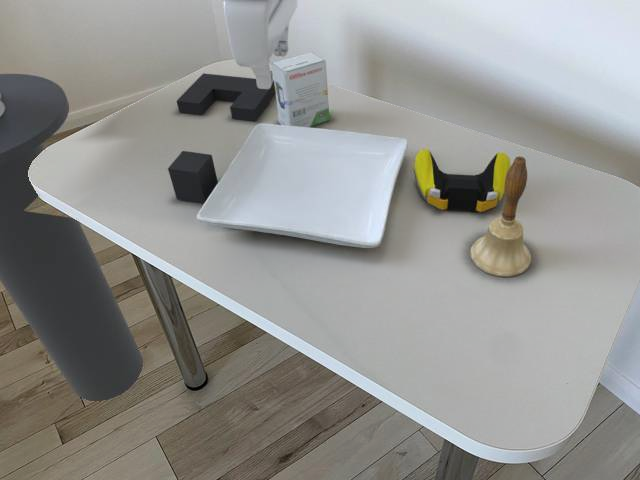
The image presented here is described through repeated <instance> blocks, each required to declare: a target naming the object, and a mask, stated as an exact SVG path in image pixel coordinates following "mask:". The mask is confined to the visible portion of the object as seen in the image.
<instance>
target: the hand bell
mask: <svg viewBox="0 0 640 480" xmlns="http://www.w3.org/2000/svg"><path fill="white" fill-rule="evenodd" d="M526 161H527V160H526V158H525V157H523V156H516V157H515V158H514V160H513V162H512V163H511V167H510V168H509V170H508V172H507V175H506V179H505V185H504V191H505V193H504V196H505V200H504V201H505V202H504V205H503V208H502V214H501V216H500V217H496V218H494V219H493V220H492V221H490V223H489V225H488V229H487V231H486V233H485V235H483V236H481V237H479V238H478V239H476V240H475V242H473V244H472V245H471V247H470V251H469V256H470V258H471V262H473V264H474V265H475V266H476V267H477V268H478V269H479V270H481V271H482V272H484V273H486V274H489V275H492V276H496V277H501V278H502V277H504V278H511V277H514V276H519V275H521V274H523V273H524V272H526V271H527V270H528V269H529V267H530V266H531V263H532V255H531V252H530V250H529V248H528V246H527V245H526V244H525V243H524V227H523V225H522V224H521V222H520V221H518V220H517V219H516V214H517V208H518V203H519V200H520V199H521V198H522V195H523V194H524V192H525V190H526V187H527V182H528V169H527V163H526Z"/></svg>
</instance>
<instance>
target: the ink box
mask: <svg viewBox="0 0 640 480" xmlns="http://www.w3.org/2000/svg"><path fill="white" fill-rule="evenodd" d="M271 66H272V67H271V68H272V75H273V81H274V84H275V92H276V94H275V98H276V108H277V109H276V110H277V118H278V123H279V125H287V126H299V127H310V128H312V127H314V126H317V125H320V124H322V123H325V122H329V121H330V105H329V104H330V103H329V91H328V89H329V87H328V73H327V60H326V59H324V58H323V57H322V56H320V55H318V54H317V53H315V52H307V53H304V54H300V55H297V56H293V57H289V58H286V59H282V60H276V61H274V62H272V63H271Z"/></svg>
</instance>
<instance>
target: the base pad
mask: <svg viewBox="0 0 640 480" xmlns="http://www.w3.org/2000/svg"><path fill="white" fill-rule="evenodd" d="M275 97H276V92H275V84H274V80H273V83H272V85H271V88H270V89H260V88H258V87H257V83H256V78H252V77H244V76H243V77H242V76H233V75H223V74H214V73H205V72H204V73H202V74H201V75H200V76H199V77H198V78H197V79H196V80H195V81H194V82H193V83H192V84H191V85H190V86H189V87H188V88H187V89H186V90H185V91H184V93H182V95H180V97H179V98H177V100H176V105H177V108H178V112H179V114H189V115H198V116H203V115H204V114H205V112H207V110H208V109H210V107H211V106H212V104H214V102H215V101H221V102H231V103H232V104H231V105H230V106H229V109H230V114H231V115H230V116H231V119H233V120H240V121H248V122H257V121H258V119H259V118H260V117H261V116H262V114H263V113H264V111H265V110H266V109H267V108H268V106H269V104H270V103H271V101H272V100H273V99H274V98H275Z"/></svg>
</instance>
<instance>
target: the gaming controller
mask: <svg viewBox="0 0 640 480" xmlns="http://www.w3.org/2000/svg"><path fill="white" fill-rule="evenodd" d="M511 165H512V163H511V160H510V157H509V155H508V153H503V152H501V151H499V152H497V153H496V154H495V155H494V157H492V159H491V160H490V161H489V162H488V164H487V166H486V167H485V169H484V170H483V171H482V172H481V173H479V174H457V173H446V172H444V171H442V170H440V169H439V166H438V164H437V162H436V160H435V158H434V156H433V154H432V152H431V151H430V149H428V148H424V149H421V150H419V151H418V152H417V154H416V155H415V158H414V165H413V173H414V177H415V182H416V185H417V188H418V190H419V193H420V195H421V197H422V198H423V200H424V201H426V203H427V204H429V205H431V206H434V207H435V208H437V209H439V210H442V211H444V210H452V211H453V210H456V211H457V210H458V211H474V212H475V211H477V212H479V213H482V212H485V211H487V210H490V209H493V208H496V207H497V205H499V204H500V203H501V202H502V200H503V198H504V196H505V191H504V185H505V179H506V175H507V172H508V170H509V168H510V167H511Z"/></svg>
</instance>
